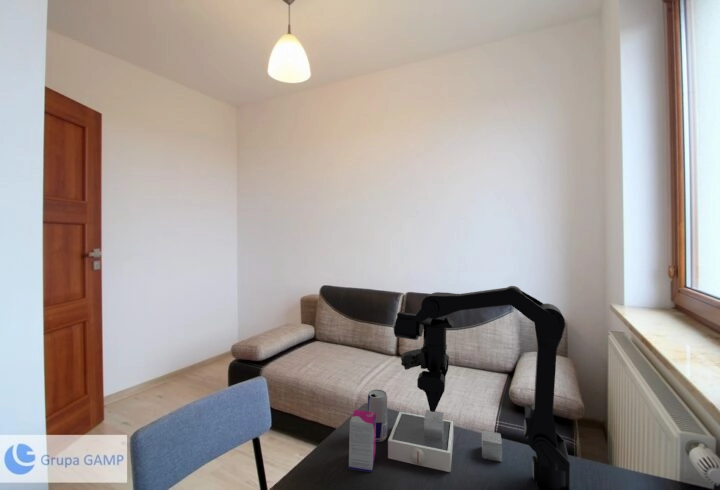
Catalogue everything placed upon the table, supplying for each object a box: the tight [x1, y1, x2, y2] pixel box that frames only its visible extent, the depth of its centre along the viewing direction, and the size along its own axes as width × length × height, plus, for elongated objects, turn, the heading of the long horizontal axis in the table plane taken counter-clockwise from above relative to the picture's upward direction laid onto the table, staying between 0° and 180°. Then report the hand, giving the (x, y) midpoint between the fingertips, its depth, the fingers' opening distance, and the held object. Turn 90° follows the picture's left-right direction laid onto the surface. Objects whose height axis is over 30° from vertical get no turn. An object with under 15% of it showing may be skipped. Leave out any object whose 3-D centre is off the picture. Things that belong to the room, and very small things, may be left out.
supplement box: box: [348, 409, 377, 473], centre depth 78 cm, size 6×6×12 cm
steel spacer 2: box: [481, 430, 503, 463], centre depth 81 cm, size 4×4×4 cm
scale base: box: [387, 411, 454, 473], centre depth 84 cm, size 15×14×4 cm
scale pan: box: [393, 414, 449, 451], centre depth 84 cm, size 13×12×1 cm
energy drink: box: [367, 389, 388, 443], centre depth 88 cm, size 5×5×12 cm
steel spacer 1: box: [424, 409, 445, 440], centre depth 83 cm, size 4×4×4 cm
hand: (434, 402), depth 83 cm, fingers open, 9 cm apart
